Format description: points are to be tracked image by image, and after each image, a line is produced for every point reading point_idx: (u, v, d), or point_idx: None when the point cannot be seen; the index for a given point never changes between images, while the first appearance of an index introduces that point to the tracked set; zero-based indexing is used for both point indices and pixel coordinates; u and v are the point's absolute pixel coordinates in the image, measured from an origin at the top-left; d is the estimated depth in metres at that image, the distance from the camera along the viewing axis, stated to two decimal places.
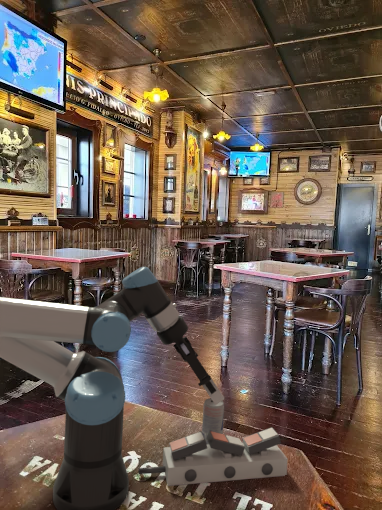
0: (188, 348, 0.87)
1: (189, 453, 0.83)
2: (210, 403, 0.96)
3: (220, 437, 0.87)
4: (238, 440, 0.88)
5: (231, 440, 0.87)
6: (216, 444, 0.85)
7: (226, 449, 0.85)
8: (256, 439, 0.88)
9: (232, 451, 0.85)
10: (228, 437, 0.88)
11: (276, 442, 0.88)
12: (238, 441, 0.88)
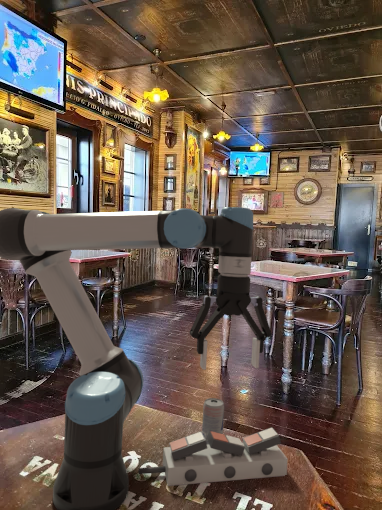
0: (205, 300, 0.84)
1: (189, 453, 0.83)
2: (210, 403, 0.96)
3: (220, 437, 0.87)
4: (238, 440, 0.88)
5: (231, 440, 0.87)
6: (216, 444, 0.85)
7: (226, 449, 0.85)
8: (256, 439, 0.88)
9: (232, 451, 0.85)
10: (228, 437, 0.88)
11: (276, 442, 0.88)
12: (238, 441, 0.88)
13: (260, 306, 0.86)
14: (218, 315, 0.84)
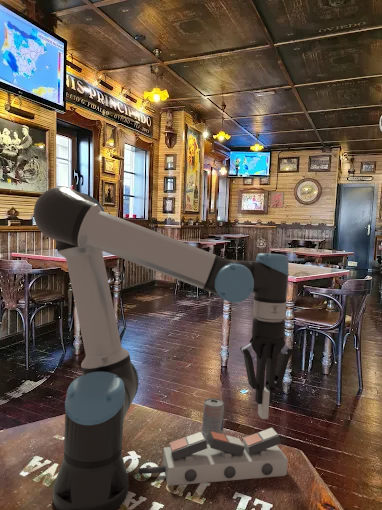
0: (244, 354, 0.86)
1: (189, 453, 0.83)
2: (210, 403, 0.96)
3: (220, 437, 0.87)
4: (238, 440, 0.88)
5: (231, 440, 0.87)
6: (216, 444, 0.85)
7: (226, 449, 0.85)
8: (256, 439, 0.88)
9: (232, 451, 0.85)
10: (228, 437, 0.88)
11: (276, 442, 0.88)
12: (238, 441, 0.88)
13: (288, 356, 0.88)
14: (262, 362, 0.87)
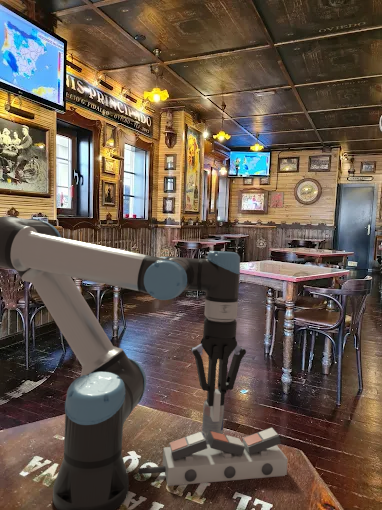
0: (194, 355, 0.84)
1: (189, 453, 0.83)
2: None
3: (220, 437, 0.87)
4: (238, 440, 0.88)
5: (231, 440, 0.87)
6: (216, 444, 0.85)
7: (226, 449, 0.85)
8: (256, 439, 0.88)
9: (232, 451, 0.85)
10: (228, 437, 0.88)
11: (276, 442, 0.88)
12: (238, 441, 0.88)
13: (240, 357, 0.86)
14: (213, 363, 0.84)
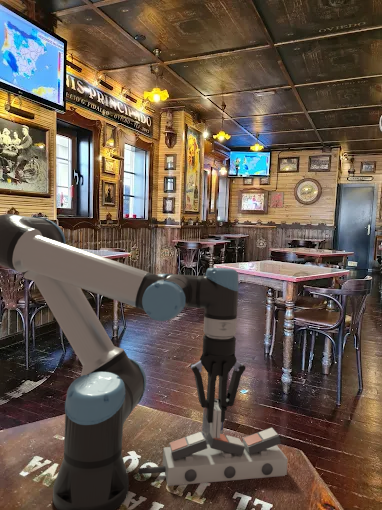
0: None
1: (189, 453, 0.83)
2: None
3: (220, 437, 0.87)
4: (238, 440, 0.88)
5: (231, 440, 0.87)
6: (216, 444, 0.85)
7: (226, 449, 0.85)
8: (256, 439, 0.88)
9: (232, 451, 0.85)
10: (228, 437, 0.88)
11: (276, 442, 0.88)
12: (238, 441, 0.88)
13: (239, 373, 0.86)
14: (212, 380, 0.84)
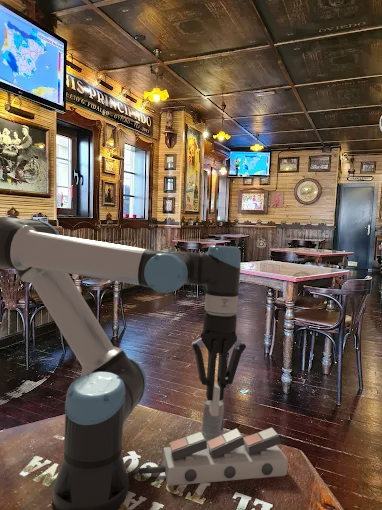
0: None
1: (189, 453, 0.83)
2: None
3: (217, 442, 0.87)
4: (235, 432, 0.88)
5: (228, 438, 0.87)
6: (216, 452, 0.85)
7: (227, 449, 0.85)
8: (256, 439, 0.88)
9: (234, 447, 0.86)
10: (225, 436, 0.88)
11: (276, 442, 0.88)
12: (235, 433, 0.87)
13: (240, 352, 0.86)
14: (212, 358, 0.84)
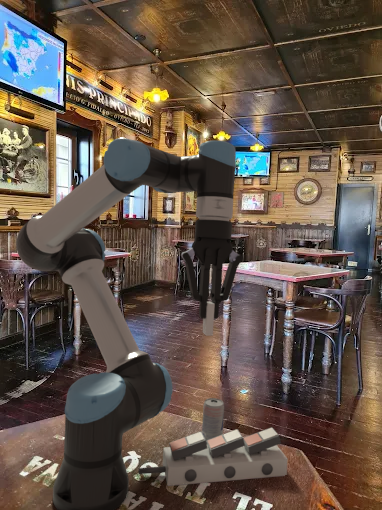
0: (184, 259, 0.74)
1: (189, 453, 0.83)
2: (210, 403, 0.96)
3: (217, 441, 0.87)
4: (236, 432, 0.88)
5: (228, 438, 0.87)
6: (216, 452, 0.85)
7: (227, 449, 0.85)
8: (256, 439, 0.88)
9: (234, 447, 0.86)
10: (225, 436, 0.88)
11: (276, 442, 0.88)
12: (236, 434, 0.88)
13: (236, 264, 0.76)
14: (205, 269, 0.75)
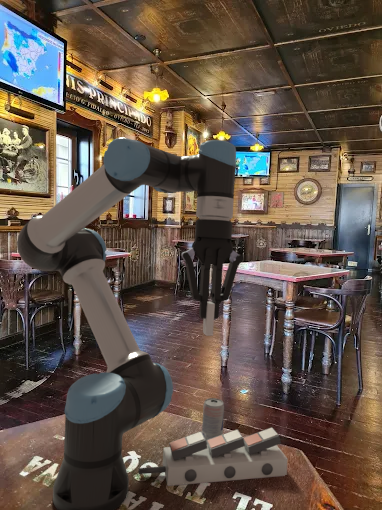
0: (184, 258, 0.74)
1: (189, 453, 0.83)
2: (210, 403, 0.96)
3: (217, 441, 0.87)
4: (236, 433, 0.88)
5: (228, 438, 0.87)
6: (216, 451, 0.85)
7: (227, 449, 0.85)
8: (256, 439, 0.88)
9: (234, 448, 0.86)
10: (225, 436, 0.88)
11: (276, 442, 0.88)
12: (236, 434, 0.88)
13: (236, 264, 0.76)
14: (205, 269, 0.74)
